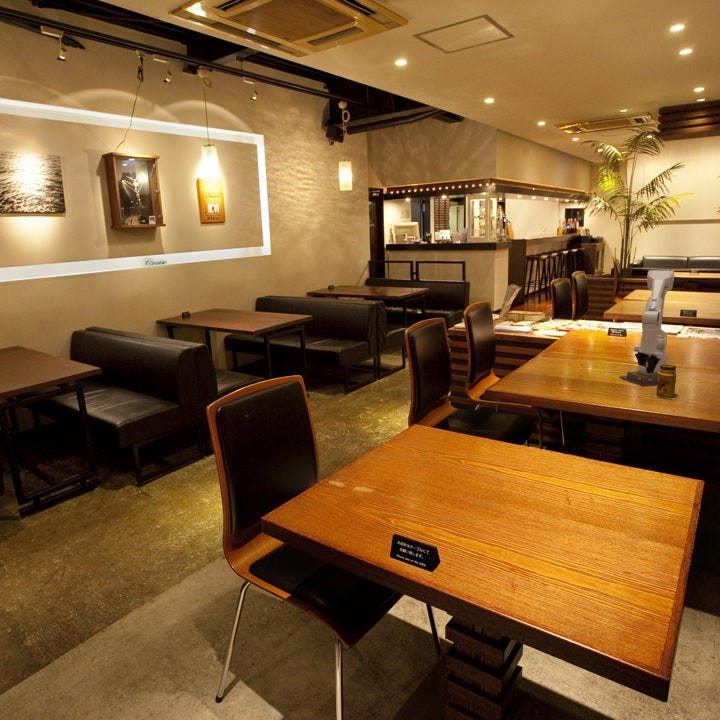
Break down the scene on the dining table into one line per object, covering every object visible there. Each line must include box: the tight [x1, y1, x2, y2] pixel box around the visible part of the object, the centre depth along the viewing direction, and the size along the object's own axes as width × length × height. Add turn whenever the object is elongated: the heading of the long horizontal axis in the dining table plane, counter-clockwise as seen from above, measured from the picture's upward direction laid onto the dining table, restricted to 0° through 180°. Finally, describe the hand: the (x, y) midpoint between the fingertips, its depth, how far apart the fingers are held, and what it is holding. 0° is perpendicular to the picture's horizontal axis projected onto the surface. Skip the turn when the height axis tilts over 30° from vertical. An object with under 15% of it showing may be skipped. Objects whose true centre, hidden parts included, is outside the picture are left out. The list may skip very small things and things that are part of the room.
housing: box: [619, 370, 659, 388], centre depth 228 cm, size 14×14×3 cm
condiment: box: [652, 364, 680, 400], centre depth 207 cm, size 7×8×12 cm
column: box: [637, 364, 655, 376], centre depth 227 cm, size 4×4×6 cm
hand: (646, 371), depth 227 cm, fingers closed on column, 4 cm apart
